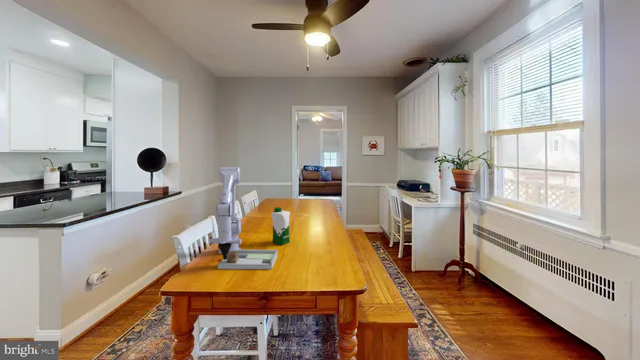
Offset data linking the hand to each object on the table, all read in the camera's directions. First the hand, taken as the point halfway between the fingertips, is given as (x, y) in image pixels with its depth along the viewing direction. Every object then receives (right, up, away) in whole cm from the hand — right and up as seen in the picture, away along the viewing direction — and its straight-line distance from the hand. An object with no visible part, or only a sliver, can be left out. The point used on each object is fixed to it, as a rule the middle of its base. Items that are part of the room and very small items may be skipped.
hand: (225, 258), depth 128 cm
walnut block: (+3, -1, 0) cm, 4 cm away
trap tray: (+10, -3, +4) cm, 11 cm away
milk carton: (+21, 0, +31) cm, 38 cm away
